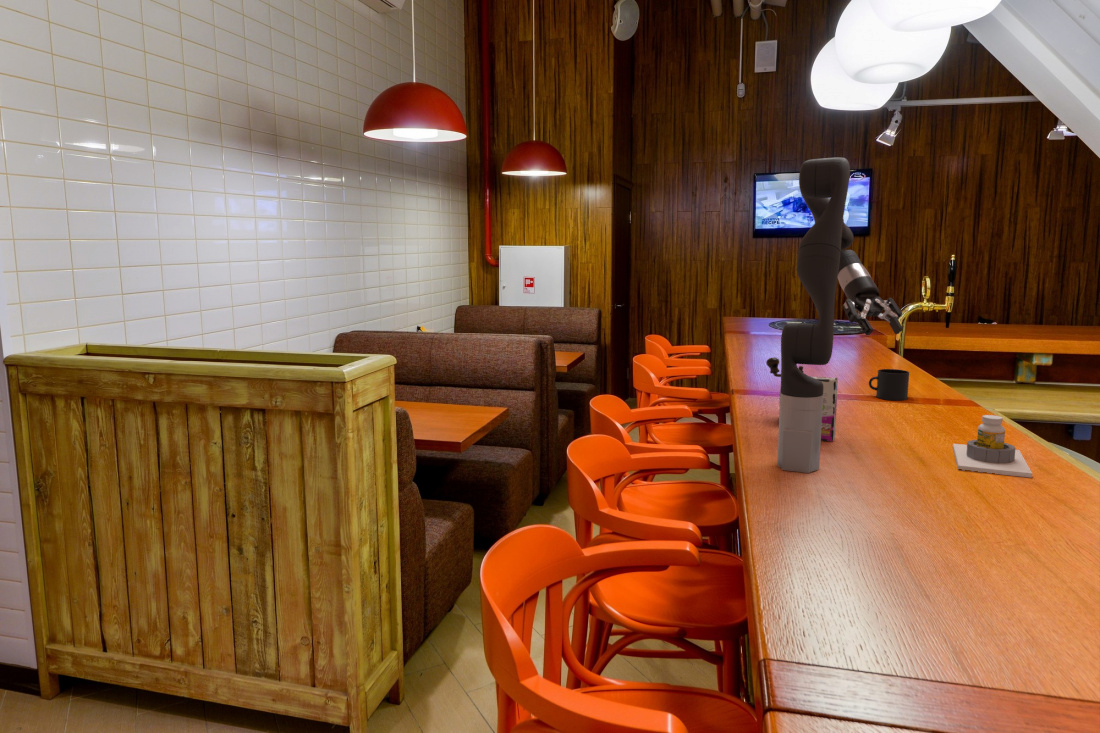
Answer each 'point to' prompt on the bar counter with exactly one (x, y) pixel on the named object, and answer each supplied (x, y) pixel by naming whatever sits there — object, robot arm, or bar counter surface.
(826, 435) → the candy bar box
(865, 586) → the bar counter surface
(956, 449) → the socket plate
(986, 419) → the supplement bottle
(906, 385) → the mug
